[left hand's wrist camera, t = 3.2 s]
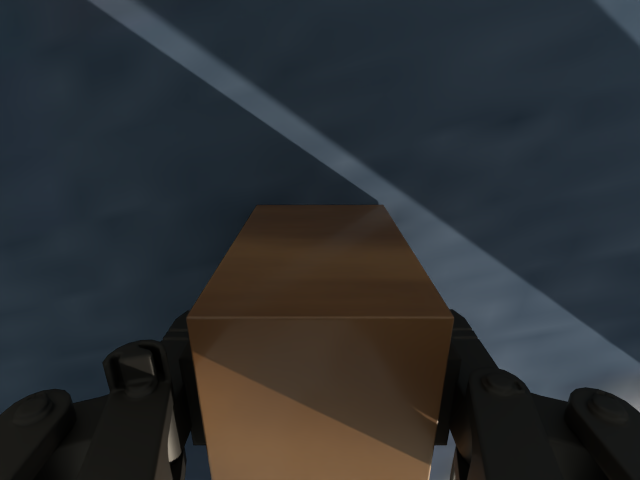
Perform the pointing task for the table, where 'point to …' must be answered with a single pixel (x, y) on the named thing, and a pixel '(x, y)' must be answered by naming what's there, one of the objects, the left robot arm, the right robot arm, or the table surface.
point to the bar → (320, 349)
